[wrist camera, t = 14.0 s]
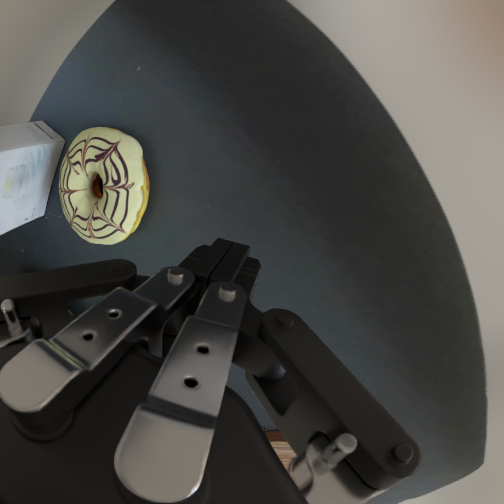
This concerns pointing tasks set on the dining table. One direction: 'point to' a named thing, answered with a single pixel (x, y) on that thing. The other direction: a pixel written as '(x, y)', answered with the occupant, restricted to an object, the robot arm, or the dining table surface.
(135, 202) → the decorated donut
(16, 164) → the cosmetics box
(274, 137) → the dining table surface
